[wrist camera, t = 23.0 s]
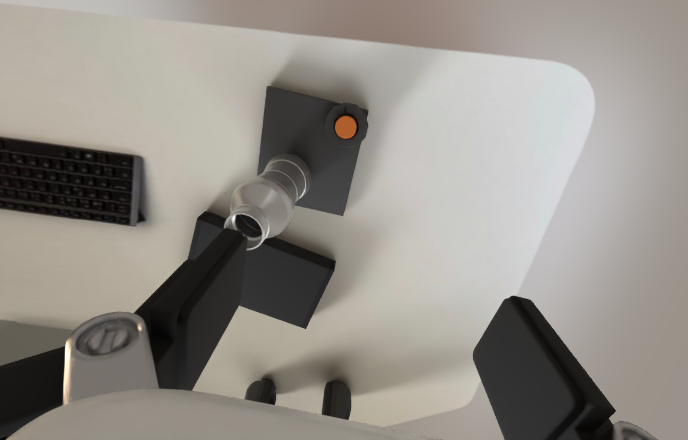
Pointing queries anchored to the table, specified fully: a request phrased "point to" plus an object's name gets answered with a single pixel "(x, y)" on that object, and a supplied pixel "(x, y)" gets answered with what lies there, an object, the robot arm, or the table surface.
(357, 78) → the table surface
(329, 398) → the headphones
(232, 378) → the table surface
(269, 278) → the external hard drive
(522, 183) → the table surface
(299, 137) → the scale
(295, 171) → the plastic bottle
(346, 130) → the button
